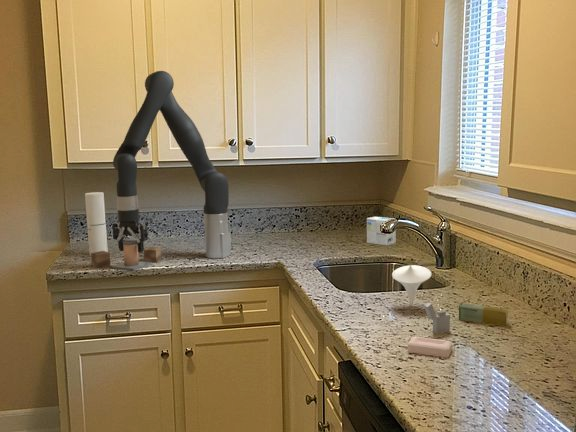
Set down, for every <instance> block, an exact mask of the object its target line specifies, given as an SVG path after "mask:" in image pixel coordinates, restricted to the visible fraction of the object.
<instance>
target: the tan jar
mask: <svg viewBox="0 0 576 432" xmlns="http://www.w3.org/2000/svg"><path fill="white" fill-rule="evenodd" d="M137 243H138V242H137V240H136V239H135V238H127V239H124V240H123V248H124V251H123V260H124V261H123V262H124V265H126V266H135V265H138V264H139V261H140V259H139V258H140V257H139V253H138V247H137Z"/></svg>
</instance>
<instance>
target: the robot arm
mask: <svg viewBox="0 0 576 432" xmlns="http://www.w3.org/2000/svg"><path fill="white" fill-rule="evenodd" d="M144 87H145V90H146V95H145V97H144V101H143V102H142V105H141V107H140V108H139V110H138V112H137V113H136V115H135V117H134V119H132V122H131V123H130V126H129V128H128V130H127V133H126V134H125V136H124V140H122V143H121V144H120V146H119V148H118V149H117V151H116V152H115V155H114V157H113V160H112V166H113V167H114V169H115V170H116V171H117V175H118V176H117V179H118V180H117V182H116V196H117V197H116V205H117V207H116V208H117V219H118V220H117V221H118V222H114V223H112V239H113V240H116V241H117V242H118V243H117V244H118V250H119V252H124V248H123V240H125V237H127V236H129V237H132V238H133V239H136V240H137V242H138V243H137V247H138V254H139V253H144V249H145V247H144V244H145V243H144V242H145V241H147V240H148V239H149V236H148V227H147V224H146V223H144V224H140V222H139V221H140V209H139V199H138V193H137V192H138V190H137V189H138V188H137V178H138V177H137V176H138V163H137V160H136V157H137V154H138V152H139V151H140V150H142V149H143V147H144V145H145V143H146V140H147V139H148V136H149V135H150V134H149V133H150V132H151V129H152V126H153V125H154V122H155V120H156V118H157V115H158V114H159V112H160V114H161V115H162V117H163V118H164V121H165V122H166V124H167V127H168V128H169V131H170V132H171V134H172V136H173V138H174V140H175V141H176V143H177V145H178V147H179V149H180V150H181V152H182V154H183V155H184V156H185V158H186V159H187V161H188V162H189V163H190V165H191V167H192V169H193V171H194V173H195V175H196V177H197V181H198V183H199V185H200V187H201V188H202V190H203V192H204V196H205V199H204V206H203V220H204V221H203V225H204V227H203V228H204V230H203V231H204V247H205V248H204V249H205V251H204V252H205V257H206V258H208V259H209V258H210V259H224V258H226V257H229V256H232V240H231V231H229V221H228V220H229V219H228V218H229V217H228V216H229V215H228V209H229V208H228V207H229V200H230V199H229V181H228V179H227V176H225V174H224V173H222V172H219V171H218V170H217V169H216V167H215V166H214V164H213V163H212V161H211V160H210V157H209V156H208V153H207V151H206V150H207V149H206V147H205V146H206V145H205V141H204V139H203V137H202V134H201V133H200V131H199V130H198V127H197V125H195V123H194V121H193V120H192V118H191V116H189V115H188V113H186V112H185V110H184V109H183V108H182V107H181V106H180V104H179V103H178V101H177V100H176V98H175V96H174V93H173V90H174V78H173V76H172V75H171V74H170V73H169V72H167V71H165V70H157V71H154V72H151V73H150V74H148V75H147V77H146V78H145V81H144Z"/></svg>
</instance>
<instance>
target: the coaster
mask: <svg viewBox="0 0 576 432" xmlns="http://www.w3.org/2000/svg"><path fill="white" fill-rule="evenodd" d="M151 265H152V263H151V262H144V261H142V260H141V261H140V260H139V264H138V265H135V266H126V265H124V261H123V262H121V263H118V264H115V265H112V266H111V269H114V270H124V271H137V270H140V269H142V268H145V267H148V266H151Z"/></svg>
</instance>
